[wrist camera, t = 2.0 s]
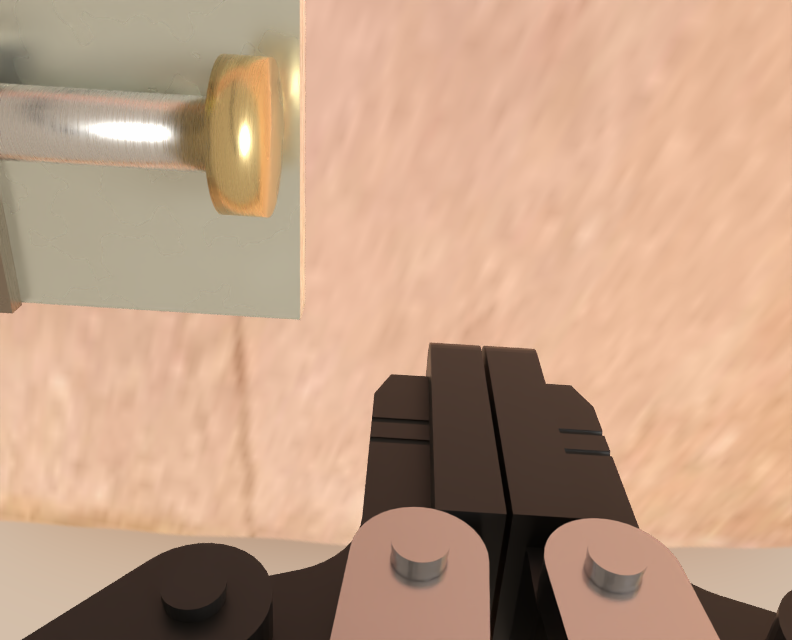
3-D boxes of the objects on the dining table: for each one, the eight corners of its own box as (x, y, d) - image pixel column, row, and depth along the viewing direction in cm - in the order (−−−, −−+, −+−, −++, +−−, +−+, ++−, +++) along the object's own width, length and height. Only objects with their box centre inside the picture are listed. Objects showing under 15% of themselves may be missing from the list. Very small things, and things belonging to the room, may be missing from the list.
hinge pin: (-180, 17, 25) (-310, 34, 20) (282, 47, 25) (253, 70, 21) (-140, 164, 27) (-249, 208, 23) (284, 191, 27) (258, 240, 23)
